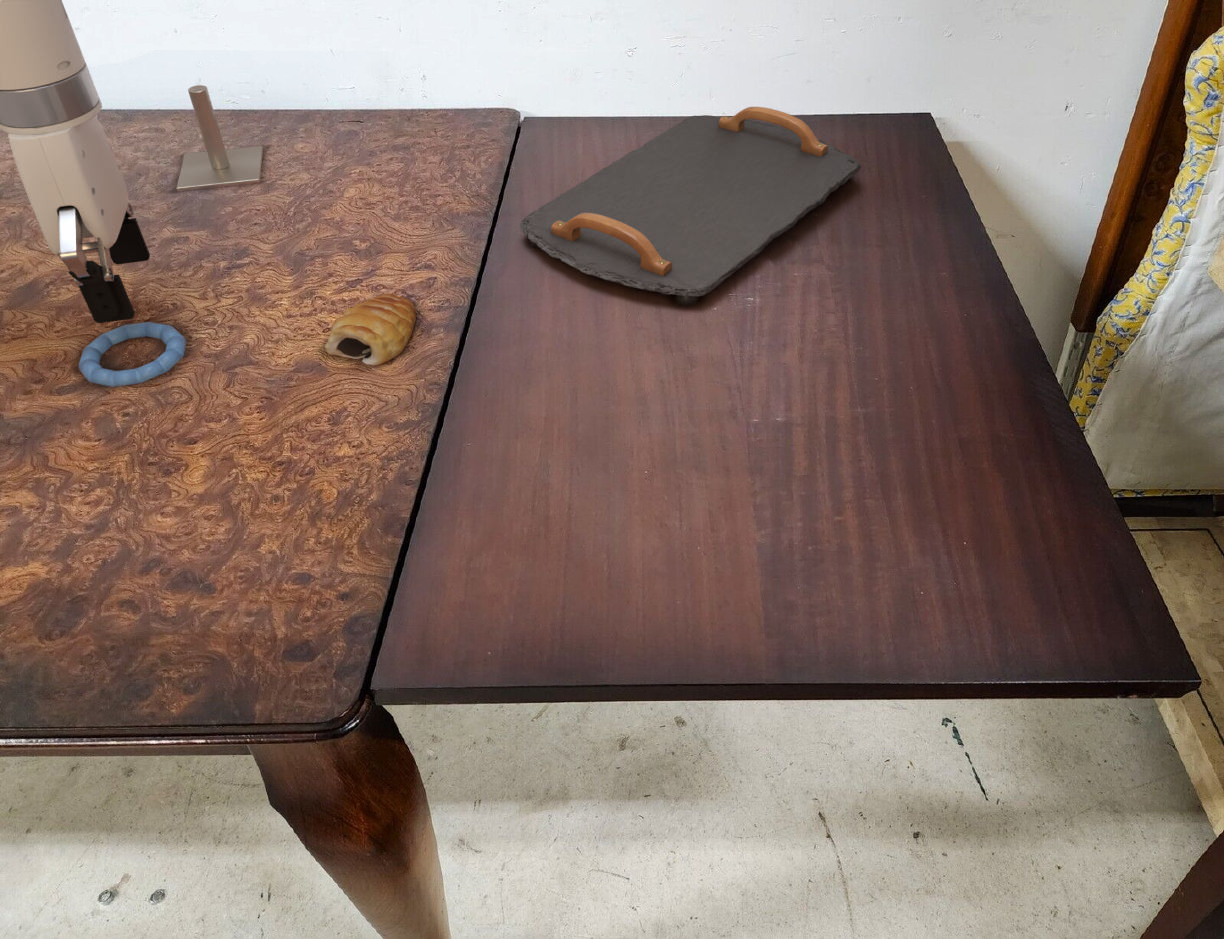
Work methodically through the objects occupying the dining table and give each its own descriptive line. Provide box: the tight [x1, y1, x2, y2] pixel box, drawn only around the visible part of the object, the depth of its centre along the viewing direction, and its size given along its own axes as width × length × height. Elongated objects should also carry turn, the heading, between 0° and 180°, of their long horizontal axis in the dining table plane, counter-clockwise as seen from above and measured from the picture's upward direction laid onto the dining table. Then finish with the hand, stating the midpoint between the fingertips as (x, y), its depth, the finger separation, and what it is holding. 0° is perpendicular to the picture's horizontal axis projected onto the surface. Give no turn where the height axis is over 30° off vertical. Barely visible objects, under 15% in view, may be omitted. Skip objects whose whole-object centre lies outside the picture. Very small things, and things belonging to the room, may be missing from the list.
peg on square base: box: [176, 84, 264, 193], centre depth 110 cm, size 9×9×10 cm
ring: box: [78, 321, 187, 388], centre depth 87 cm, size 9×9×2 cm
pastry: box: [324, 293, 417, 366], centre depth 88 cm, size 9×7×4 cm
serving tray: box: [519, 106, 862, 307], centre depth 104 cm, size 39×23×6 cm, turn 143°
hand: (124, 288), depth 86 cm, fingers open, 9 cm apart
